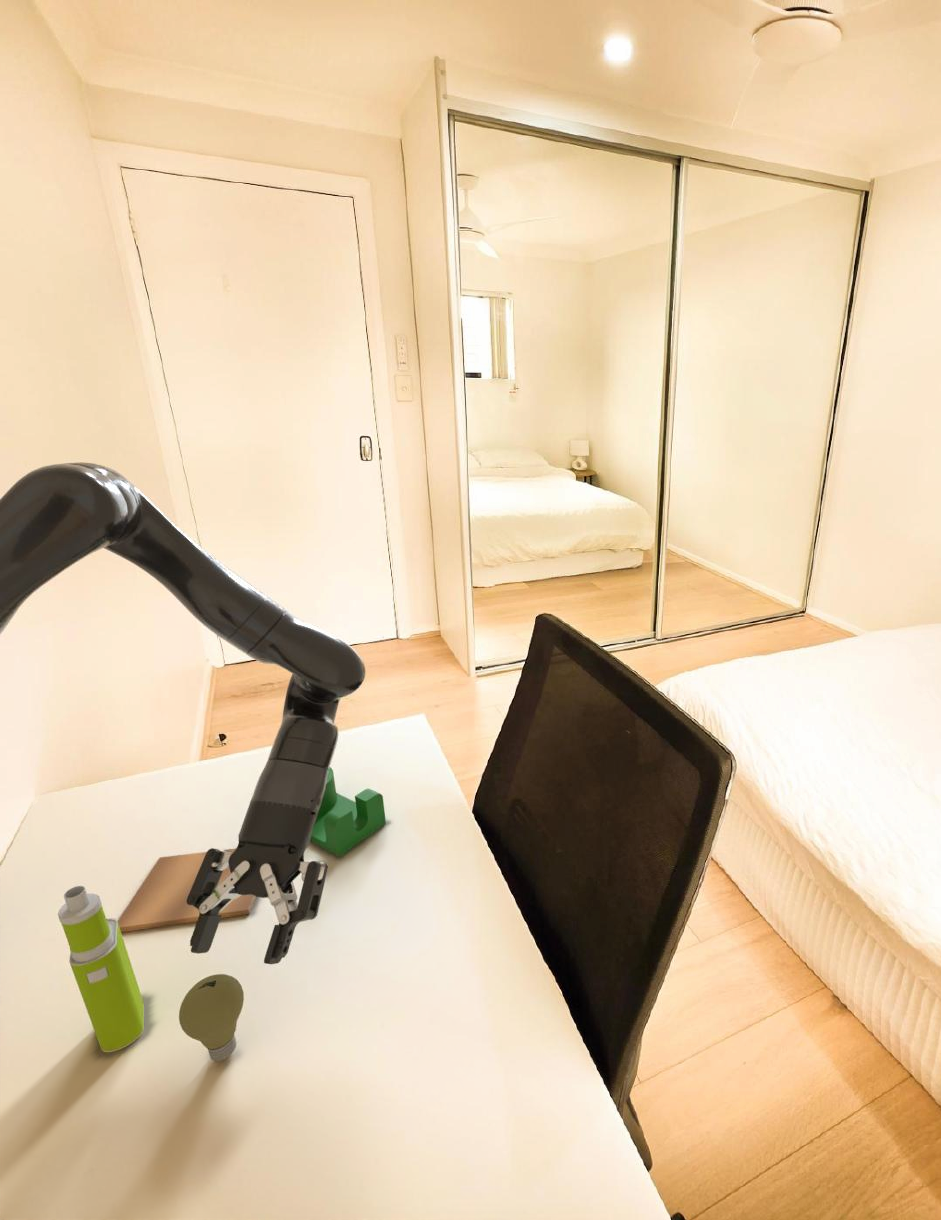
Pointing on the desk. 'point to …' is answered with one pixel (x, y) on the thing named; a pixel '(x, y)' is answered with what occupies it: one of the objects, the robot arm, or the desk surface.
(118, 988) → the vape
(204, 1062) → the desk surface
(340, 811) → the slotted cylinder bracket
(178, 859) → the brown wooden board
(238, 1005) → the light bulb
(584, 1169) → the desk surface
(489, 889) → the desk surface
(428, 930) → the desk surface
